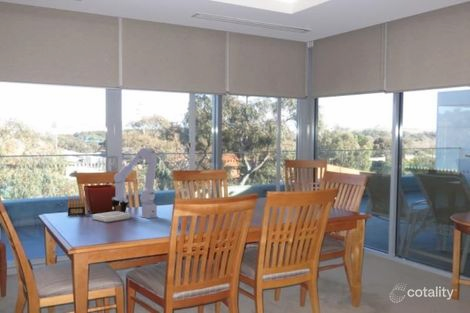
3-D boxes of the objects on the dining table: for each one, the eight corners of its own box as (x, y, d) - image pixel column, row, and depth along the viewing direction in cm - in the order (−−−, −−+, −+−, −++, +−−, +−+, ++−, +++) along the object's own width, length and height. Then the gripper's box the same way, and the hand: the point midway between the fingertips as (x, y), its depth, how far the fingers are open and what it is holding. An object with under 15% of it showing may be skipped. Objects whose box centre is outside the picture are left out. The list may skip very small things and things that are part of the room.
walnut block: (124, 214, 296) (124, 205, 296) (119, 215, 293) (119, 206, 293) (120, 214, 299) (120, 205, 298) (115, 214, 295) (115, 205, 295)
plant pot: (83, 209, 314) (83, 185, 313) (111, 207, 322) (111, 184, 322) (87, 214, 297) (87, 188, 296) (117, 212, 305) (117, 187, 305)
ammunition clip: (67, 215, 291) (67, 196, 290) (67, 214, 293) (67, 196, 292) (85, 214, 295) (85, 196, 294) (85, 214, 296) (85, 195, 296)
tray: (130, 218, 284) (130, 213, 284) (106, 222, 270) (106, 217, 270) (117, 215, 293) (117, 210, 293) (92, 219, 279) (92, 214, 279)
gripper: (108, 191, 296) (108, 211, 297) (121, 193, 287) (121, 214, 288) (117, 190, 302) (116, 210, 303) (130, 192, 293) (130, 213, 293)
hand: (119, 212), depth 296 cm, fingers open, 7 cm apart
